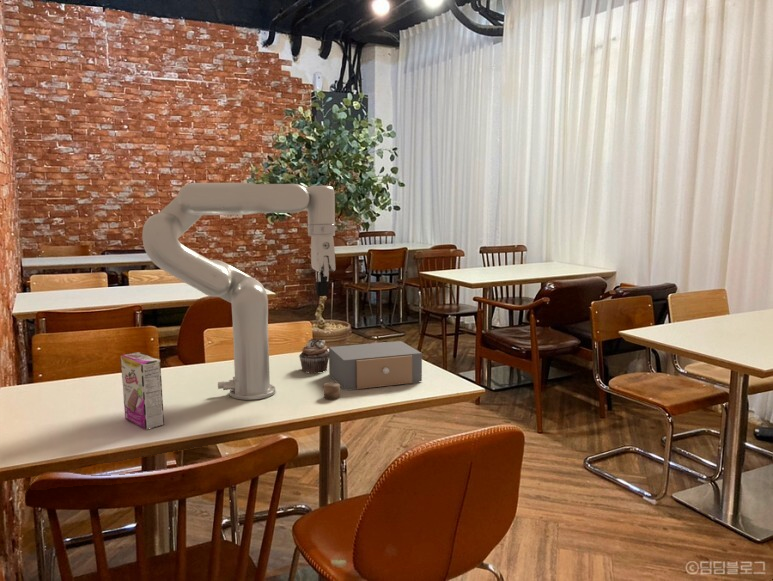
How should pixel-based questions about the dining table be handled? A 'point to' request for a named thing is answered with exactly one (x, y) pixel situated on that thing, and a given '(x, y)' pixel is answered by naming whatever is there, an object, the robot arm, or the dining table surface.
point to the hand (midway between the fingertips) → (322, 295)
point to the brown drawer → (383, 371)
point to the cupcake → (314, 356)
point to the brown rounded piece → (331, 391)
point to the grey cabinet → (346, 356)
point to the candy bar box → (142, 390)
